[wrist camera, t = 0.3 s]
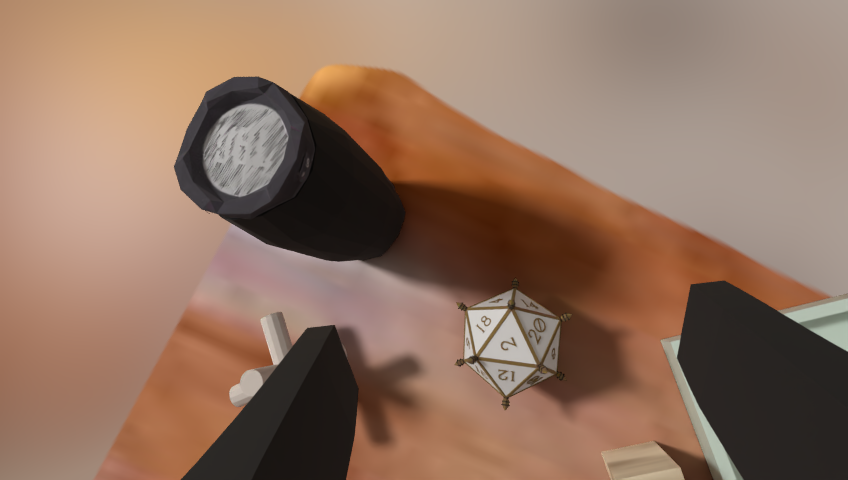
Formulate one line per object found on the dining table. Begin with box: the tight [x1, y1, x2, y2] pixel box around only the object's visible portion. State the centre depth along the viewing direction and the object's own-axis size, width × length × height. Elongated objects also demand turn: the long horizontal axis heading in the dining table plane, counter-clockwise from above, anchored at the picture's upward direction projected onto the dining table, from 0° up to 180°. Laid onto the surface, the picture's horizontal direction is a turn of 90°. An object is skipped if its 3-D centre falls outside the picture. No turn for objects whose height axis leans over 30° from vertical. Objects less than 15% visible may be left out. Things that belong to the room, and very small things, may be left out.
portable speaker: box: [174, 77, 405, 262], centre depth 32 cm, size 9×9×20 cm
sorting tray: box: [661, 294, 848, 480], centre depth 30 cm, size 16×14×2 cm
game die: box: [455, 278, 572, 410], centre depth 33 cm, size 9×8×10 cm
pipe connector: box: [229, 312, 347, 407], centre depth 36 cm, size 10×10×10 cm
